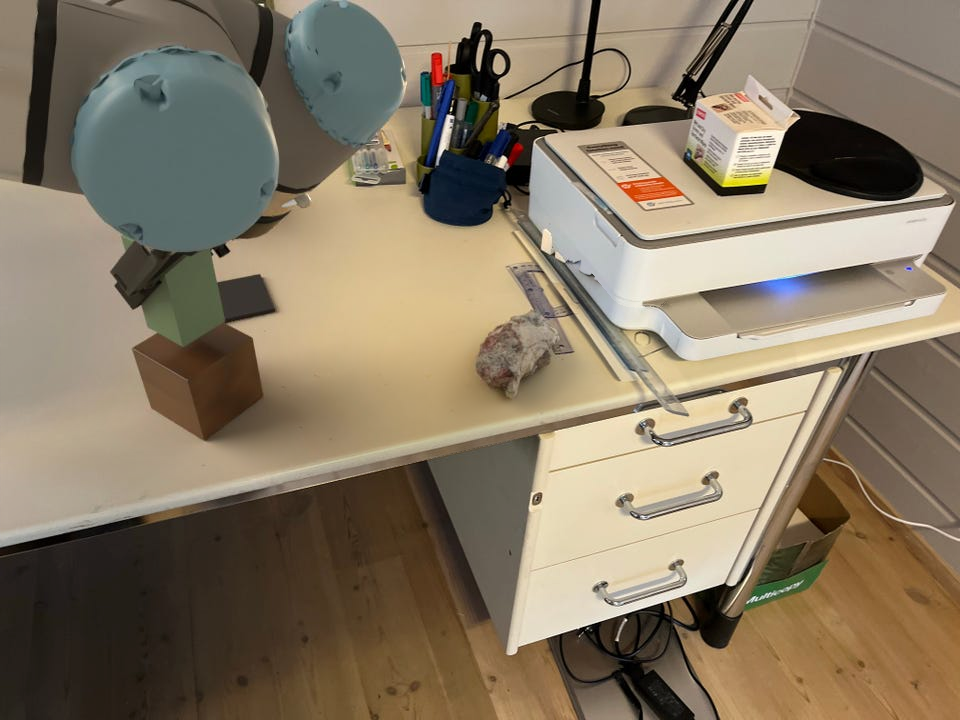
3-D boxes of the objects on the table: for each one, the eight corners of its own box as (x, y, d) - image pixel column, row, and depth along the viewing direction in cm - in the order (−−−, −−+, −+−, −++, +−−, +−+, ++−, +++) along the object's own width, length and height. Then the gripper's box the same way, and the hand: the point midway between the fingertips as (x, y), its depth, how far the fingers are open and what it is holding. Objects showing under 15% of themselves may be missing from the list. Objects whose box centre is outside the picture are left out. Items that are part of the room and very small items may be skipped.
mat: (170, 334, 86) (169, 330, 86) (161, 296, 92) (160, 293, 91) (275, 311, 91) (274, 308, 90) (260, 276, 96) (260, 273, 96)
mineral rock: (523, 318, 92) (526, 288, 89) (578, 345, 88) (583, 315, 86) (445, 379, 83) (446, 348, 80) (503, 412, 79) (506, 381, 76)
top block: (183, 347, 69) (159, 254, 62) (147, 327, 71) (120, 235, 64) (225, 321, 72) (206, 230, 66) (189, 302, 74) (168, 212, 68)
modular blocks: (540, 249, 104) (543, 224, 102) (573, 233, 108) (576, 209, 105) (656, 315, 94) (662, 289, 91) (687, 295, 98) (694, 269, 95)
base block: (204, 441, 74) (188, 381, 69) (150, 407, 77) (131, 348, 72) (264, 396, 79) (252, 337, 74) (211, 367, 82) (197, 308, 77)
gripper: (184, 270, 49) (93, 364, 66) (365, 172, 60) (248, 273, 77) (110, 171, 47) (37, 293, 64) (309, 90, 59) (203, 211, 76)
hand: (152, 282), depth 71 cm, fingers closed on top block, 5 cm apart
